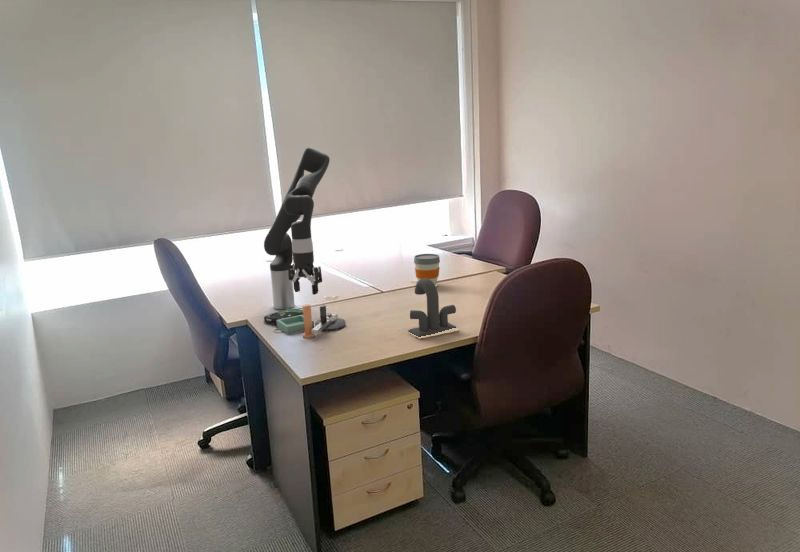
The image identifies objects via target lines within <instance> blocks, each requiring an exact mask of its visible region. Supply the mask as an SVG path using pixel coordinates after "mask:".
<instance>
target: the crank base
mask: <svg viewBox="0 0 800 552" xmlns="http://www.w3.org/2000/svg"><path fill="white" fill-rule="evenodd" d="M319 323H321V319H318V320H317V321H315V322H314V327H316V326H317V325H318V324H319ZM346 324H347V323H346V320H345V319H343V318H341V317H340V318H339V317H338V318H336V322H335V323H332V324H329V325H328V326H327V327H325V328H324V329H323V330H322V331H321V332H332V331H333V332H334V331H339V330H341V329H344V328H345V327H346Z"/></svg>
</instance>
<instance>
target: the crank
mask: <svg viewBox="0 0 800 552" xmlns="http://www.w3.org/2000/svg"><path fill="white" fill-rule="evenodd" d="M319 317H320V319H319V320H321V323H319V324H318V325H317V326H316V327H315V326H314V328H313V329H312V330H311V332H312V334H315V335H318V334H319V333H321V332H323V331H322V330H323V329H324V328H325V327H327V326H328V325H329V324H332V323H335V322H336V318H339V317H338V313H327V306H326V305H324V304H323V305H322V304H321V305H319Z"/></svg>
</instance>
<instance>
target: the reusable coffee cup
mask: <svg viewBox="0 0 800 552" xmlns="http://www.w3.org/2000/svg"><path fill="white" fill-rule="evenodd" d="M413 257H414V259H413V263H414V265H415V266H414V273H415V278H416V279H417V282H418V281H419V280H420V279H423V278H427V279H430V280H431V281H432V282H433V283H434V284H435V285H436V284H437V285H438V278H439V275H440V262H441V259H440V255H439V254H434V253H421V254H416V255H414V256H413Z"/></svg>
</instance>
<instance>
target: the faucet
mask: <svg viewBox="0 0 800 552" xmlns="http://www.w3.org/2000/svg"><path fill="white" fill-rule="evenodd" d="M414 294H415V295H418V296H419V295H422V296H423V295H425V297H426V313H425V312H424V311H422V310H418V309H417V310H414V309H411V310H410V311H409V319H410V320H418V327H413V328H410V329H408V330H407V332H410V333H412V334H414V335H416V336H418V337H421V336H426V335H431V334H435V333H438V332H442V331H445V330H449V329H452V328H456V327H457V326H456V325H454V324H452V323H450V322H449V321H448V320H449V319H448V317H449V315H452V314H455V313H456V312H457V308H456V306H455V305H454V304H450V305H445V306H443V307H441V309H440V304H439V303H440V302H439V291H438V289H437V287H436V286H435V284H434V283H433V282H432V281H431V280H430V279H427V278H423V279H420V280H419V281H418V280H417V282H416V284H415V287H414Z"/></svg>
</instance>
